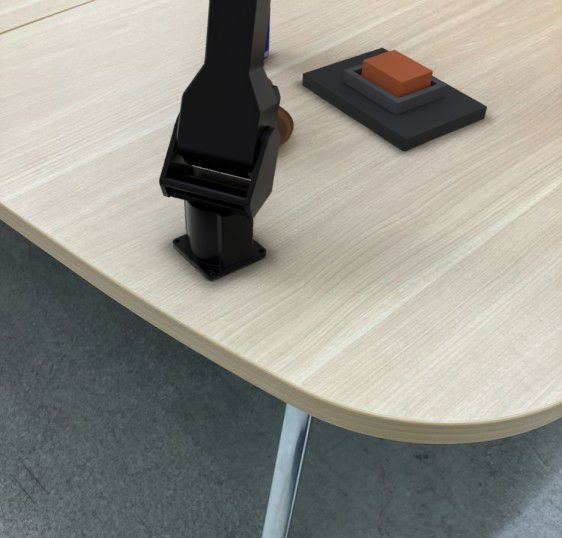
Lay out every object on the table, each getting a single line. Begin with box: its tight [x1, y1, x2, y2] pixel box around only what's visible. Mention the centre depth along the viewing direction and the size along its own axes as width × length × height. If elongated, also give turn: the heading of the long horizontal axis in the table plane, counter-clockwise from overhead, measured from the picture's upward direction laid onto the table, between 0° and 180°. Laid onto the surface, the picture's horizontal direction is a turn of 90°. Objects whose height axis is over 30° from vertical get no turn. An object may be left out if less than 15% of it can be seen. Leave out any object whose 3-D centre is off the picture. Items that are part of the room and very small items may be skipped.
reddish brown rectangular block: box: [361, 49, 434, 99], centre depth 91 cm, size 6×5×3 cm
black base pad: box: [301, 47, 488, 152], centre depth 93 cm, size 18×13×3 cm
